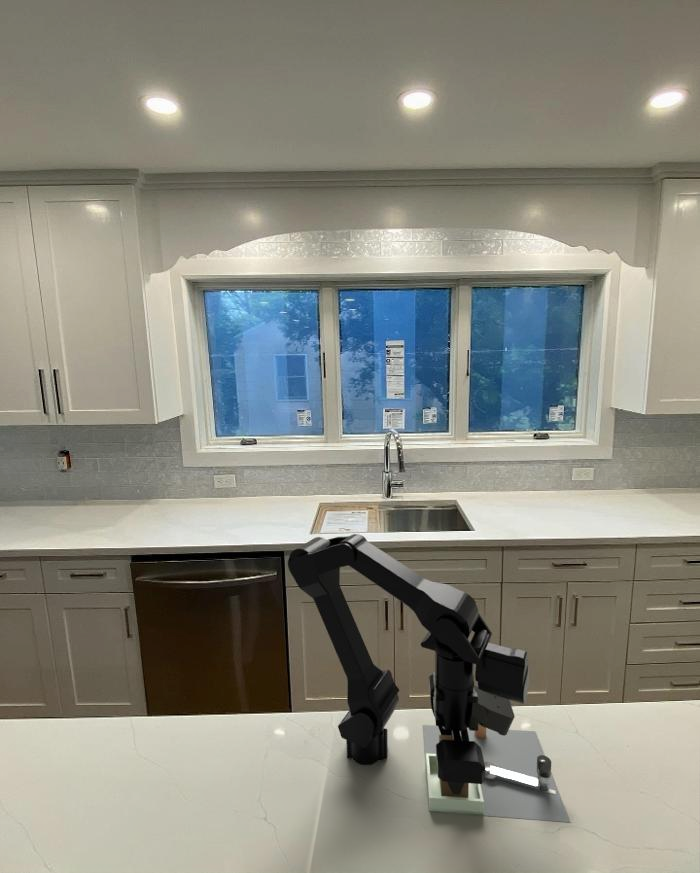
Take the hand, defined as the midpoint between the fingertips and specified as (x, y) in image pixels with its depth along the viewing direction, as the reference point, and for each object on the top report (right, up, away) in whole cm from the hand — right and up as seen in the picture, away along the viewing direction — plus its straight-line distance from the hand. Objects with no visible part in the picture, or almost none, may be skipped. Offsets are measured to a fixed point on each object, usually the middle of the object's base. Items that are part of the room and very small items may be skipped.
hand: (453, 770), depth 70 cm
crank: (+10, -3, +1) cm, 10 cm away
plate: (+7, -4, +4) cm, 9 cm away
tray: (0, -3, 0) cm, 3 cm away
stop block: (0, -3, 0) cm, 3 cm away
